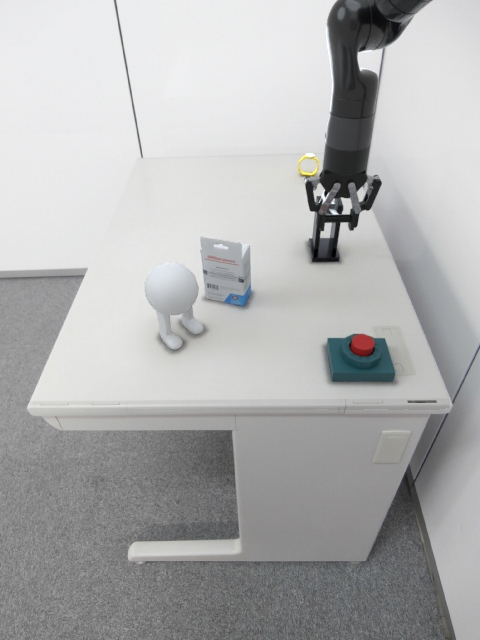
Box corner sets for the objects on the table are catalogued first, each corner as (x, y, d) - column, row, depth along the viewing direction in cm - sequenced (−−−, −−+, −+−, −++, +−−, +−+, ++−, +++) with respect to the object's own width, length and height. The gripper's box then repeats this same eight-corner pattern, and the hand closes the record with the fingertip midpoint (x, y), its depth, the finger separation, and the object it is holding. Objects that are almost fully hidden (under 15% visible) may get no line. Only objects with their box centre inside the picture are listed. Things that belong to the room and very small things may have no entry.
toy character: (176, 357, 78) (164, 291, 68) (144, 333, 82) (129, 268, 72) (213, 331, 82) (207, 265, 72) (181, 309, 87) (171, 245, 77)
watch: (297, 176, 130) (298, 156, 125) (297, 172, 132) (299, 152, 127) (317, 177, 129) (319, 157, 125) (318, 173, 131) (319, 153, 127)
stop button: (370, 341, 75) (372, 334, 73) (374, 357, 72) (376, 349, 71) (349, 341, 75) (350, 333, 73) (352, 357, 72) (354, 349, 71)
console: (382, 346, 78) (387, 330, 76) (392, 381, 73) (398, 365, 70) (326, 346, 79) (328, 330, 76) (331, 381, 73) (334, 365, 70)
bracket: (339, 261, 98) (347, 209, 89) (312, 262, 98) (317, 210, 89) (333, 242, 103) (341, 191, 95) (308, 242, 104) (313, 191, 95)
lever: (350, 225, 84) (351, 212, 83) (324, 225, 84) (325, 213, 83) (338, 212, 95) (339, 201, 94) (315, 212, 95) (316, 201, 94)
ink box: (252, 291, 91) (251, 229, 81) (244, 307, 87) (242, 244, 77) (213, 284, 93) (208, 222, 83) (204, 299, 89) (198, 236, 79)
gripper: (307, 149, 71) (300, 240, 83) (396, 147, 71) (377, 238, 82) (303, 133, 77) (297, 220, 88) (385, 131, 77) (369, 218, 88)
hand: (336, 228), depth 85 cm, fingers closed on lever, 5 cm apart
